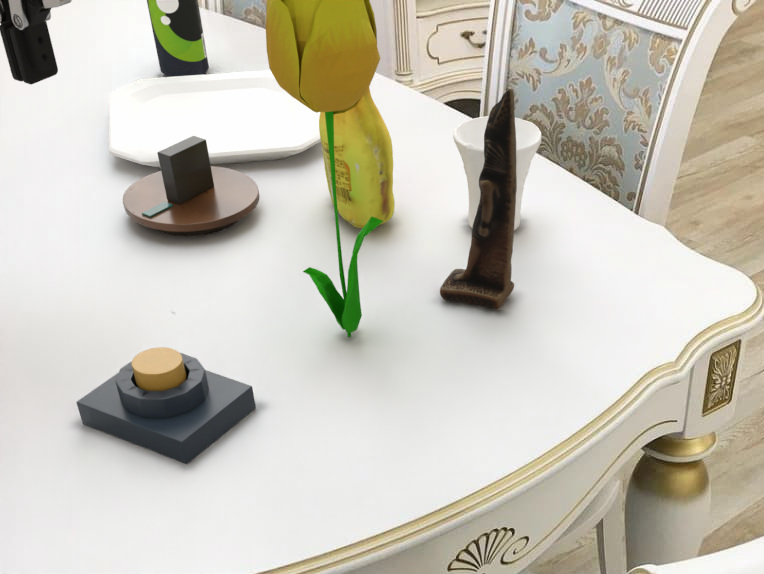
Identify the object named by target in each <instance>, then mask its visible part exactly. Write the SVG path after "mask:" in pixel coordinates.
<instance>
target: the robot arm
mask: <svg viewBox="0 0 764 574" xmlns="http://www.w3.org/2000/svg"><path fill="white" fill-rule="evenodd" d="M72 1H73V0H0V36H1V40H2V44H3V48H4V51H5V54H6V58H7V61H8V62H7V63H8V65H9V69H10V73H11V77H12V78H13V79H14V80H15V81H18V82H24V83H25V84H28V85H35V84H36V83H39V82H41V81H45V80H46V79H49V78H51V77H53V76H57V74H58V72H59V68H58V65H57V60H56V59H57V58H56V56H55V52H54V48H53V44H52V43H53V42H52V39H51V35H50V32H49V31H50V30H49V27H48V23H47V22H48V21H50V20H51V18H52V12H51V10H52V9H54V8H60V7H62V6H65V5H68V4H70V3H72Z"/></svg>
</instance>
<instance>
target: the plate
mask: <svg viewBox="0 0 764 574" xmlns="http://www.w3.org/2000/svg"><path fill="white" fill-rule="evenodd" d="M319 117H320V112H318V113H316V112H314V111H312V110H311V109H309V108H308V107H306V106H305V105H304V104H302V103H301V102H299V101H298V100H296V99H295V98H293V97H292V96H291V95H290V94H288V93H287V92H286V91H285V90H284V89H282V88H281V87H280V86H279V84H278V83H277V81H276V79H275V78H274V76H273V74H272V72H271V70H270V69H266V70H265V69H264V70H252V71H251V70H250V71H236V72H222V73H221V72H220V73H206V74H204V75H190V76H175V77H166V76H161V77H148V78H147V77H146V78H140V79H137V80H135V81H132V82H130V83H128V84H125V85H123V86H120V87H118V88H115V89H113V90H111V92H110V93H109V94H108V152H109V154H111V155H112V156H113V157H117V158H121V159H123V160H126V161H128V162H129V161H130V162H132V163H136V164H139V165H142V166H148V167H153V168H159V169H161V168H160V163H159V158H158V153H157V152H159V151H161V150H164V149H166V148H168V147H170V146H172V145H174V144H176V143H179V142H181V141H183V140H185V139H187V138H189V137H192V136H196V137H199V138H203V139H206V143H207V148H208V154H209V160H210V165H211V166H215V165H224V164H225V165H226V164H236V163H237V164H239V163H249V162H250V163H251V162H260V161H263V162H264V161H273V160H274V161H275V160H282V159H286V158H288V157H292V156H294V155H297V154H300V153H302V152H304V151H306V150H308V149H310V148H312V147H313V146H316V145H317V144H318V143H321V139H320V131H319Z"/></svg>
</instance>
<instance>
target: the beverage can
mask: <svg viewBox="0 0 764 574" xmlns="http://www.w3.org/2000/svg"><path fill="white" fill-rule="evenodd" d="M146 4H147V9H148V15H149V19H150V25H151V29H152V35H153V40H154V45H155V49H156V55H157V59H158V60H157V61H158V65H159V70H160V72H161V73H162V74H163V75H164V77H175V76H190V75H204V74H207V72H208V71H209V69H210V65H209V59H208V52H207V47H206V42H205V41H206V40H205V35H204V28H203V24H202V17H201V10H200V6H199V5H200V4H199V0H146Z"/></svg>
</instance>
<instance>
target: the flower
mask: <svg viewBox="0 0 764 574" xmlns="http://www.w3.org/2000/svg"><path fill="white" fill-rule="evenodd" d="M265 13H266V15H265V45H266V55H267V62H268V67H269V70H271V72H272V74H273V76H274V78H275V79H276V81H277V83H278V84H279V86H280V87H281V88H282V89H284V90H285V91H286V92H287V93H288V94H290V95H291V96H292V97H293V98H295V99H296V100H298V101H299V102H301V103H302V104H304V105H305V106H306V107H308V108H309V109H311V110H312V111H314V112H316V113H318V112H325V119H326V128H327V138H328V148H329V157H330V167H331V178H332V189H333V200H334V205H333V211H334V220H335V221H334V222H335V235H336V249H337V259H338V260H337V261H338V272H339V280H340V285H341V291H342V292H341V293H342V295H341V293H339V291H338V290H337V288H336V286H335V284H334V283H333V281H332V280H331V278H330V277H329V275H328V274H326V273H325V272H323V271H321V270H320V269H317V268H314V267H308V268H306V269H304V270H303V271H302V273H305V274H307V275H309V277H310V279H311V280H312V282H313V284H314V285H315V287H316V289H317V291H318V293H319V294H320V295H321V297H322V298H323V300H324V301H325V303H326V305H327V306H328V308H329V309H330V311H331V313H332V314H333V316H334V319H335V321H336V323H337V324H338V325H339V326H340V328H341V329H342V330H344V331H345V332H346V334H347V338H352V333H353V332H356V331H357V329H358V328H359V325H360V322H361V320H362V317H363V314H362V305H361V297H360V295H361V294H360V282H359V271H358V255H359V252H360V250H361V248H362V244H363V242H364V239H365V237H367V236H368V235H369V234H370V233H372V232H373V231H374V230H375V229H377V227H379V226H381V225H382V224H381V223H382V222H383V221H382V220H380V219H377V218H374V217H371V218H370V219H369V221H368V222H367V224H366V225H365V226H364V227H363V229H362V228H361V229H360V231H359V232H358V233H357V235H356V237H355V241H354V244H353V249H352V254H351V258H350V262H349V265H348V266H349V267H348V270H347V284H346V279H345V278H346V277H345V270H344V264H343V254H342V244H341V243H342V241H341V232H340V223H339V222H340V221H339V212H338V210H337V196H336V177H335V158H334V114H340V113H345V112H346V111H348V110H350V109H352V108H354V107H356V105H357V103H358V102H359V100H360V99H361V97H363V96H364V95H365V93H366V91H367V90H368V88H370V86H371V84H372V81H373V79H374V77H375V74H376V71H377V68H378V66H379V64H380V61H381V55H380V52H379V49H378V35H377V33H378V31H377V25H376V18H375V12H374V10H373V6H372V3H371V1H370V0H266V12H265ZM380 224H381V225H380ZM378 225H379V226H378Z"/></svg>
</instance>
